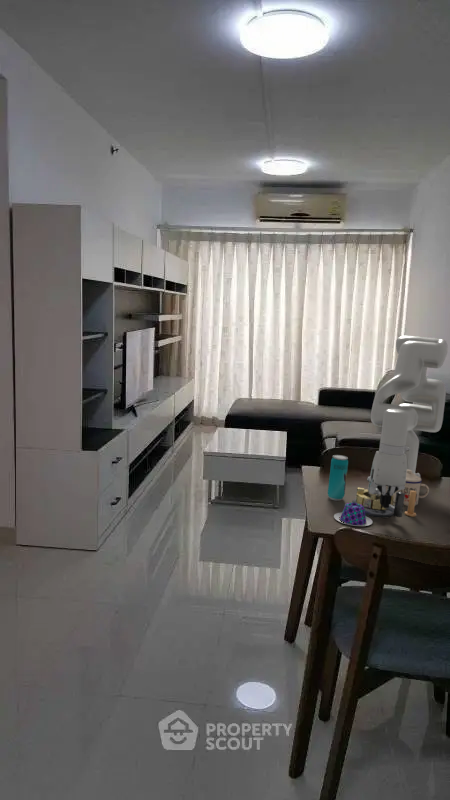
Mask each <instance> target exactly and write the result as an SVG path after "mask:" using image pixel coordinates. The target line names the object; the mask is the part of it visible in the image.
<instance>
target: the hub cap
mask: <svg viewBox="0 0 450 800" xmlns="http://www.w3.org/2000/svg"><path fill="white" fill-rule="evenodd" d="M366 480H367V481H368V487H367V489H368V494H367V497H370V498H371V494H376V499H380V496H381V492H380V491H379V490H378V489H376V488H372V487H371V486H370V483H371V479H370V476H367V479H366ZM351 503H356V498H354V499H352V501H351ZM393 506H395V504H393ZM363 507H364V506H363ZM364 509H365V516H367V517H369V518H378V519H380V518H381V519H387V518H392V517H395V516H394V515H393V514H394V513H393V512H391V511H389V510H387V509H384V510H382V509H380V510H379V509H372V508H367V507H364Z"/></svg>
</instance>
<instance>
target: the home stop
mask: <svg viewBox="0 0 450 800" xmlns="http://www.w3.org/2000/svg"><path fill="white" fill-rule="evenodd" d="M415 499H416V491H413V490H411V491H410V496H409V503H408V506H407V510H406V511H404V515H405V516H407V517H416V516H417V513H416V512H415V507H416V505H415Z"/></svg>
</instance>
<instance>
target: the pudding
mask: <svg viewBox="0 0 450 800" xmlns="http://www.w3.org/2000/svg"><path fill="white" fill-rule="evenodd" d="M339 517H340V518H339ZM333 518H334V519H335V520H336V521H338V522H339V523H341V524H345V525H347V526H354V527H366V526H370V525H372V524H373V520H372V519H371V517H370V516H366V515H365V509H364V507H363V506H362V505H361V504H358V503H352V502H347V503H345V504H344V508H343V510H342V512H337V513H334V515H333ZM339 519H340V520H341V521H342V522H341V521H340V520H339ZM343 522H344V523H343Z"/></svg>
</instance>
